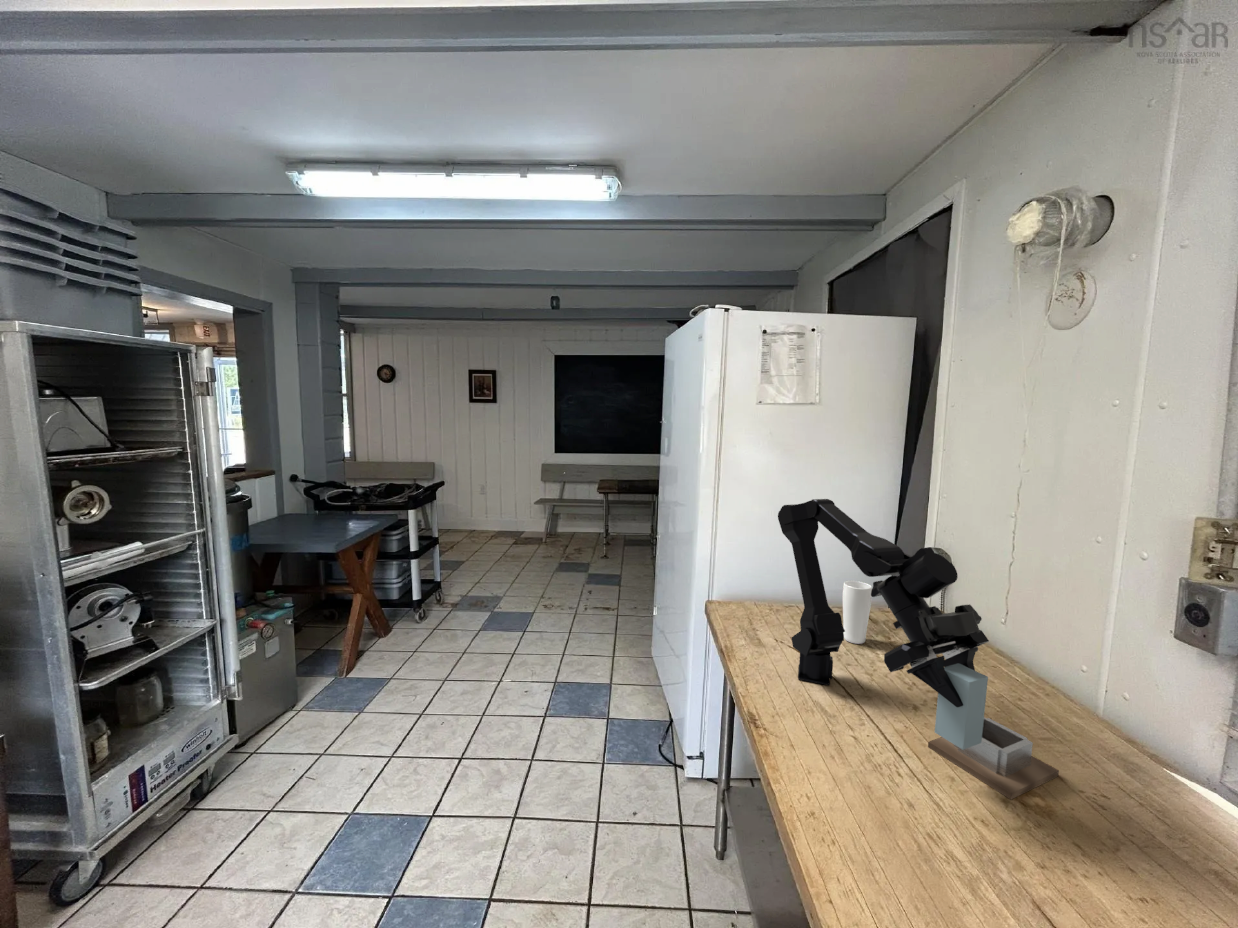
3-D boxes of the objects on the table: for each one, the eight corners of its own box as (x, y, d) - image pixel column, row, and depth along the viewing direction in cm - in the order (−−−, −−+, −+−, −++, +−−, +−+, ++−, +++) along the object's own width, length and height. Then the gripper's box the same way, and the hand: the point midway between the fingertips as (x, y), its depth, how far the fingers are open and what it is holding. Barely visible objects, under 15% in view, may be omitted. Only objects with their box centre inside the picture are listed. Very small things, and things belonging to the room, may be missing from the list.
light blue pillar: (962, 749, 76) (969, 682, 75) (934, 732, 80) (940, 668, 79) (981, 742, 78) (988, 676, 77) (952, 725, 82) (958, 663, 81)
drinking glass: (835, 634, 132) (838, 580, 131) (859, 634, 133) (862, 580, 131) (848, 646, 125) (852, 589, 124) (874, 645, 126) (877, 589, 124)
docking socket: (1010, 799, 75) (1013, 768, 74) (928, 746, 87) (930, 720, 86) (1058, 775, 80) (1061, 747, 80) (974, 729, 92) (976, 704, 92)
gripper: (906, 595, 77) (973, 700, 68) (981, 582, 84) (1052, 675, 75) (860, 624, 85) (915, 721, 76) (932, 609, 92) (991, 696, 83)
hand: (970, 703), depth 77 cm, fingers closed on light blue pillar, 4 cm apart
